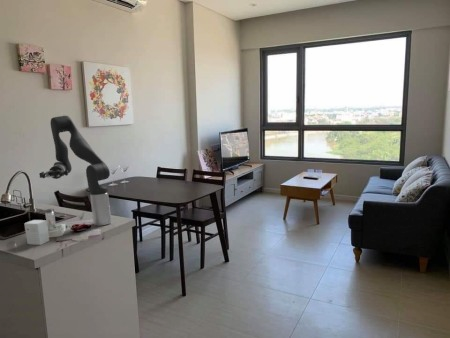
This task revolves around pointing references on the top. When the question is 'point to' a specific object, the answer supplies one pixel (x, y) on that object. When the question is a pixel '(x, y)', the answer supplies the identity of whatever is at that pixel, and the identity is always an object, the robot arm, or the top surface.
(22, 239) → the top surface
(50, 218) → the glass shaker
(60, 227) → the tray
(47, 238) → the small box
